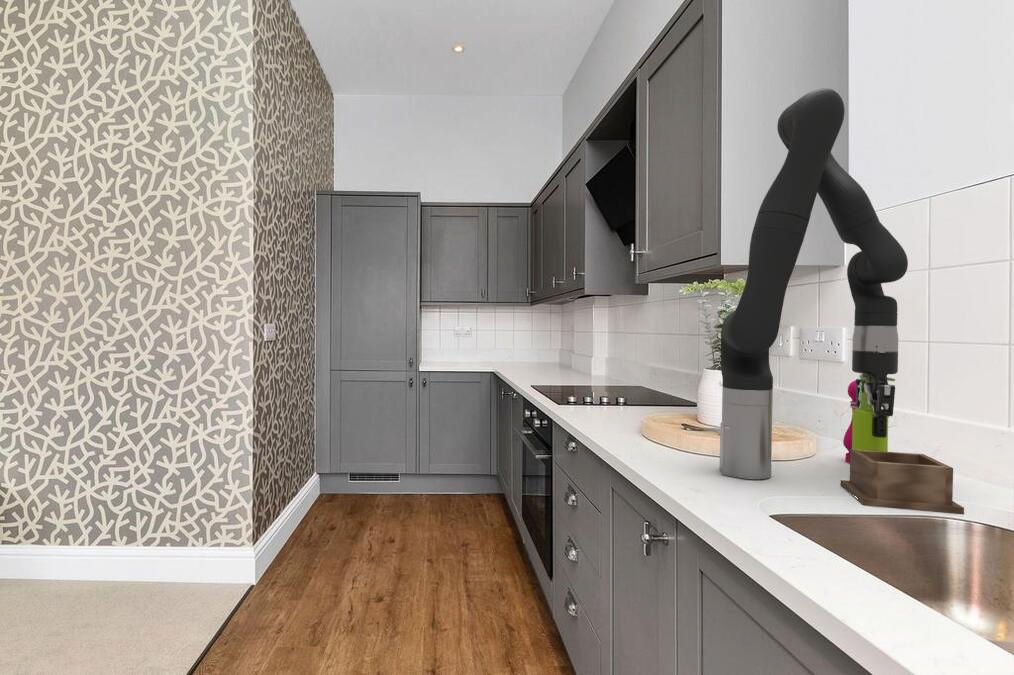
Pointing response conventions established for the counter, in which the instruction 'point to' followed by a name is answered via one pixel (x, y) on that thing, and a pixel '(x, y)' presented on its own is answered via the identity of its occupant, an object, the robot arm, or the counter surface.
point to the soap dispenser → (866, 426)
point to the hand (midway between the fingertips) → (873, 433)
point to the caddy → (901, 481)
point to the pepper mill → (848, 434)
